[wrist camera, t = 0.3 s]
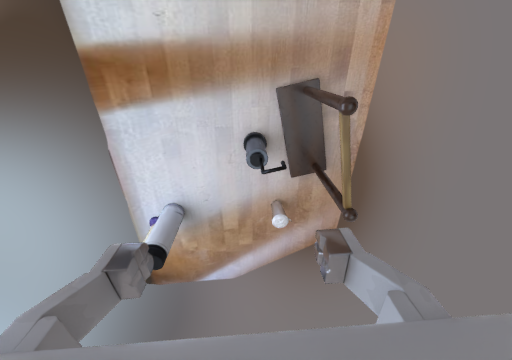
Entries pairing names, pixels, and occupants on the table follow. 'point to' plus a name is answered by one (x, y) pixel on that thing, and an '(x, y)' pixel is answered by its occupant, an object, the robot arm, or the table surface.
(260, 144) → the dark cylindrical piece
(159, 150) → the table surface
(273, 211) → the milkshake
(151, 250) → the travel mug
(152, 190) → the table surface
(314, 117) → the rack
